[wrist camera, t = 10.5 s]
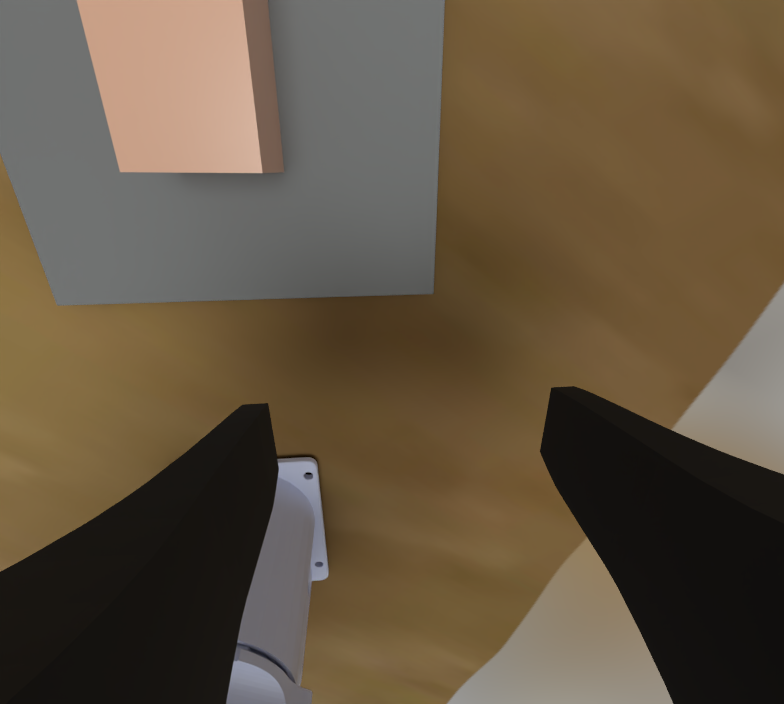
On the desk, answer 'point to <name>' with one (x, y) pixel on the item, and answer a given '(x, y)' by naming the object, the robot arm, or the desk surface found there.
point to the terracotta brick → (186, 84)
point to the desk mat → (236, 190)
